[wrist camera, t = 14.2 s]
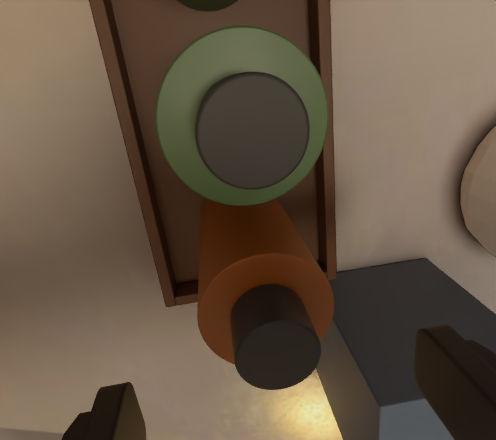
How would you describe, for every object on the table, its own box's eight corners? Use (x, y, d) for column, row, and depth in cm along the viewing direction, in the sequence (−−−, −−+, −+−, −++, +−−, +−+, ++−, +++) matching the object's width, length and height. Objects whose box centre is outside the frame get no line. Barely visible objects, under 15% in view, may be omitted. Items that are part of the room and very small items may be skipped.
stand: (315, 368, 26) (375, 525, 17) (310, 276, 23) (380, 407, 14) (418, 349, 27) (530, 492, 17) (426, 257, 24) (568, 371, 14)
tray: (169, 287, 22) (166, 307, 20) (62, -156, 14) (39, -193, 12) (326, 262, 23) (337, 279, 21) (309, -178, 15) (325, -216, 13)
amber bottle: (207, 261, 21) (210, 429, 11) (193, 186, 19) (181, 304, 9) (285, 249, 22) (357, 401, 11) (278, 173, 20) (358, 274, 10)
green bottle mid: (187, 156, 19) (168, 247, 9) (169, 57, 17) (117, 26, 7) (276, 143, 19) (358, 218, 9) (267, 45, 17) (358, -3, 7)
